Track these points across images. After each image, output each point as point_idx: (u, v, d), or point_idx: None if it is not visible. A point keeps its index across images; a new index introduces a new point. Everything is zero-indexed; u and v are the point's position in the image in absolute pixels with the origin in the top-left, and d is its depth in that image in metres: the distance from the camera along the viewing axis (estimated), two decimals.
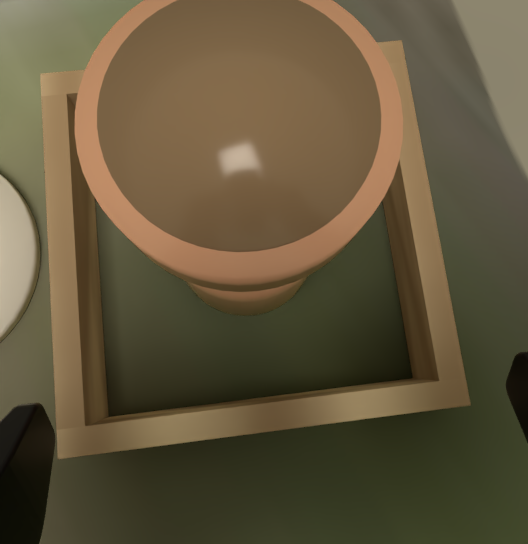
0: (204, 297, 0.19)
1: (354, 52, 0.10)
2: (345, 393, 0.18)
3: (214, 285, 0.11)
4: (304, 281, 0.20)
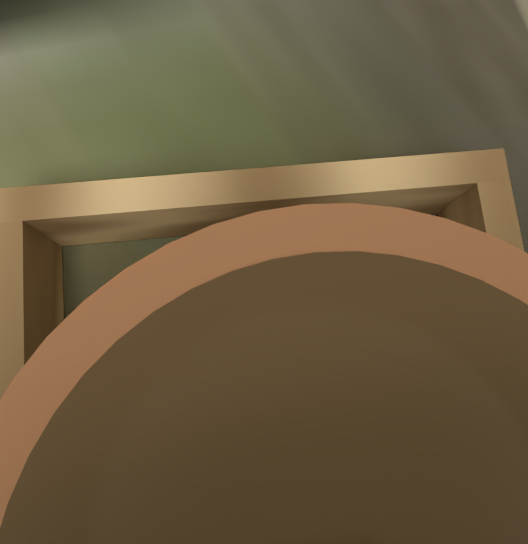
0: None
1: None
2: None
3: None
4: None
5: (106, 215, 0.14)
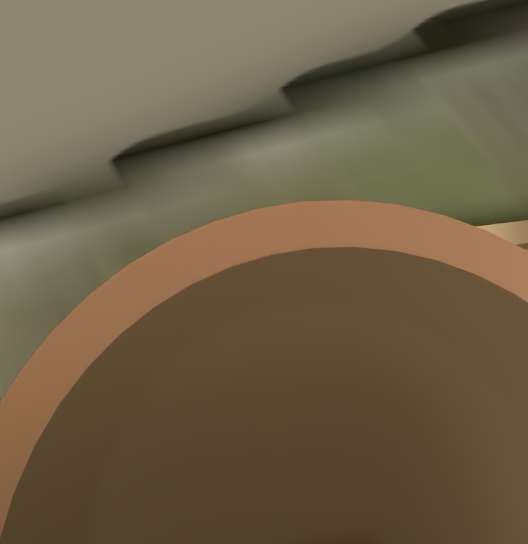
0: None
1: None
2: None
3: None
4: None
5: None
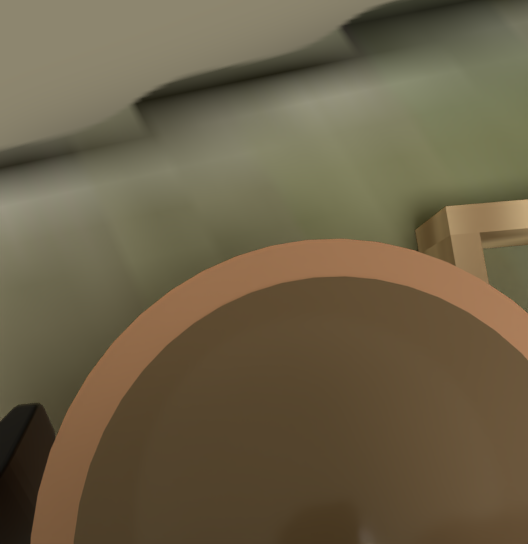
0: None
1: None
2: None
3: None
4: None
5: None
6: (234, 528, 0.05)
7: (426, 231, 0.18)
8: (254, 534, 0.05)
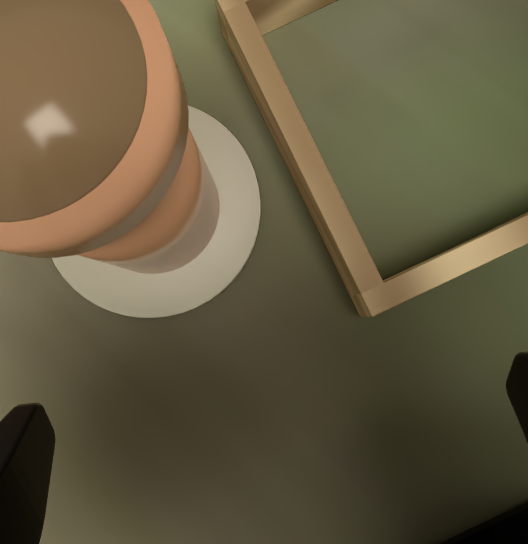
0: (118, 266, 0.19)
1: None
2: None
3: (58, 252, 0.11)
4: (211, 219, 0.20)
5: None
6: None
7: (222, 25, 0.22)
8: None
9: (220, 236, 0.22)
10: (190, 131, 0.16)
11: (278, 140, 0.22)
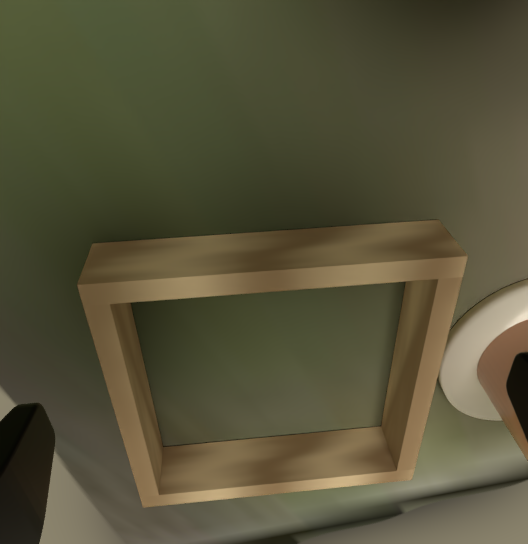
0: None
1: None
2: (201, 295, 0.19)
3: None
4: None
5: (355, 472, 0.27)
6: None
7: None
8: None
9: (504, 325, 0.25)
10: None
11: None
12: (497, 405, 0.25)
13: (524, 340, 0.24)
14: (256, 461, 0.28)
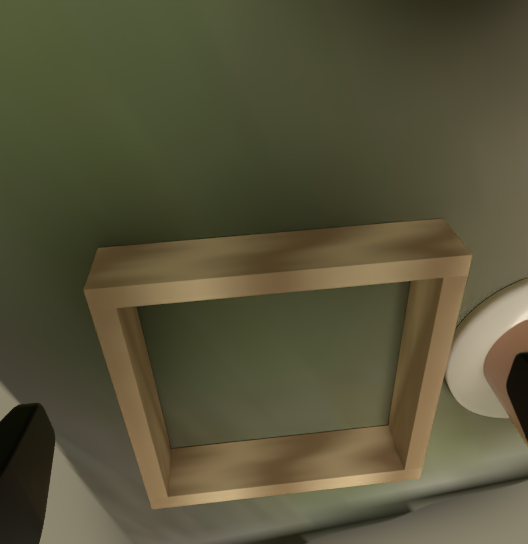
0: None
1: None
2: (207, 298, 0.19)
3: None
4: None
5: (363, 471, 0.27)
6: None
7: None
8: None
9: (510, 322, 0.25)
10: None
11: None
12: (504, 403, 0.25)
13: None
14: (264, 462, 0.28)
